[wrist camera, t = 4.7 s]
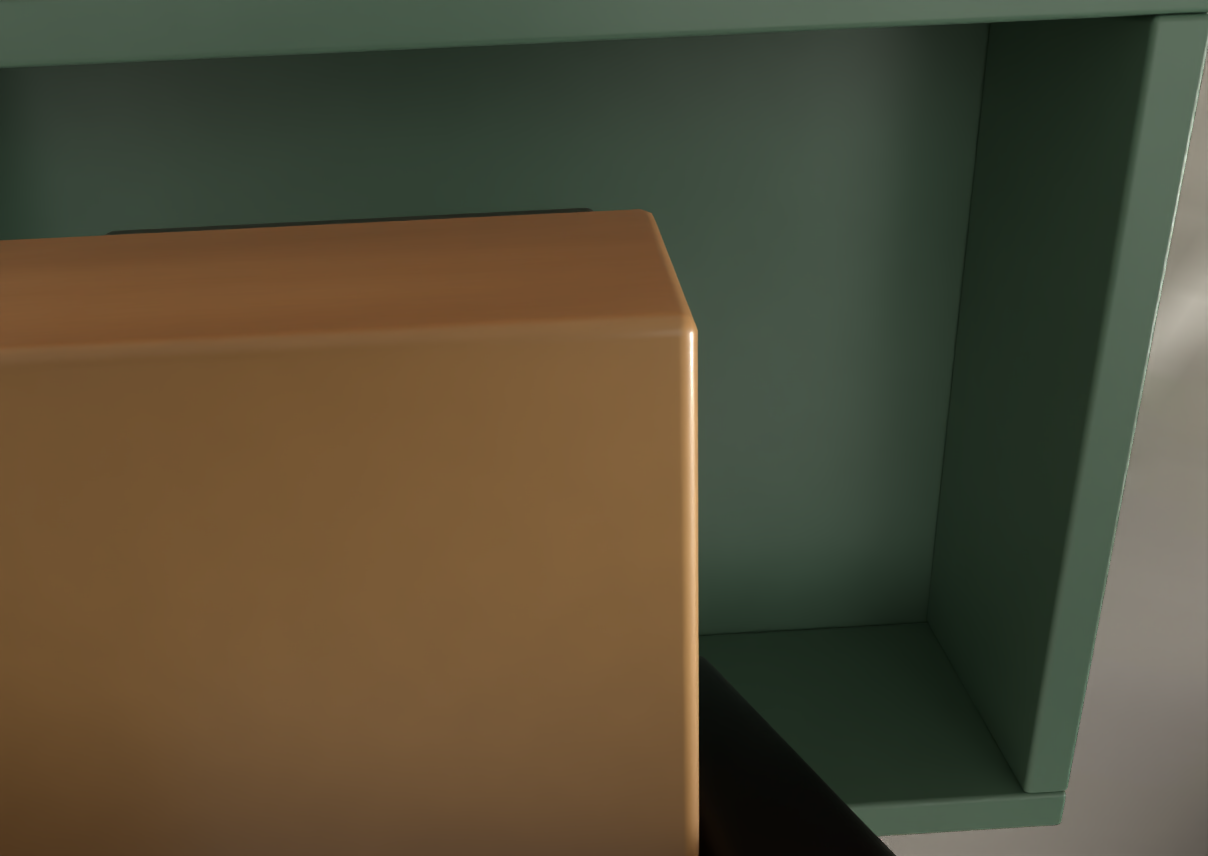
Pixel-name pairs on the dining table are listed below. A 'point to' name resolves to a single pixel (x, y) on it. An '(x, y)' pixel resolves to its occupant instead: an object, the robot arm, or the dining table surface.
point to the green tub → (747, 292)
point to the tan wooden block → (350, 540)
